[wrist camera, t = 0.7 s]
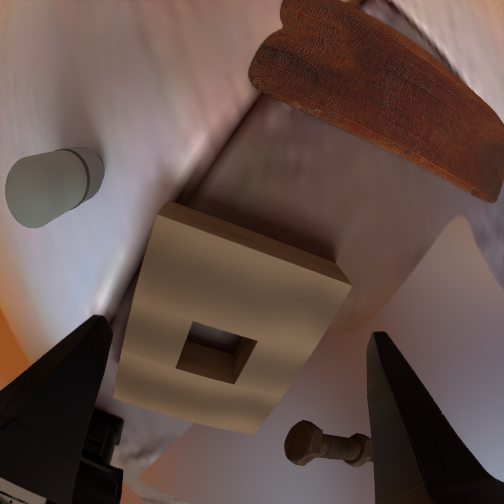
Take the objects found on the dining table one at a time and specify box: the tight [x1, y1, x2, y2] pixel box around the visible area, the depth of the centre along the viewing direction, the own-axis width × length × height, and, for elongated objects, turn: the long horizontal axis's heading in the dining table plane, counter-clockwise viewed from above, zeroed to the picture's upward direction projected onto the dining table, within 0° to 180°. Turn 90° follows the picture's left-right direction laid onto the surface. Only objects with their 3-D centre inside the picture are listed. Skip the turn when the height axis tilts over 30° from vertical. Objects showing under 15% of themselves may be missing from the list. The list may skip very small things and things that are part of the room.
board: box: [113, 201, 353, 435], centre depth 25 cm, size 18×14×4 cm
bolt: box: [284, 420, 373, 467], centre depth 33 cm, size 6×5×15 cm
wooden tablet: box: [249, 0, 504, 203], centre depth 20 cm, size 27×10×2 cm, turn 70°
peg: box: [5, 147, 104, 228], centre depth 17 cm, size 4×4×8 cm
